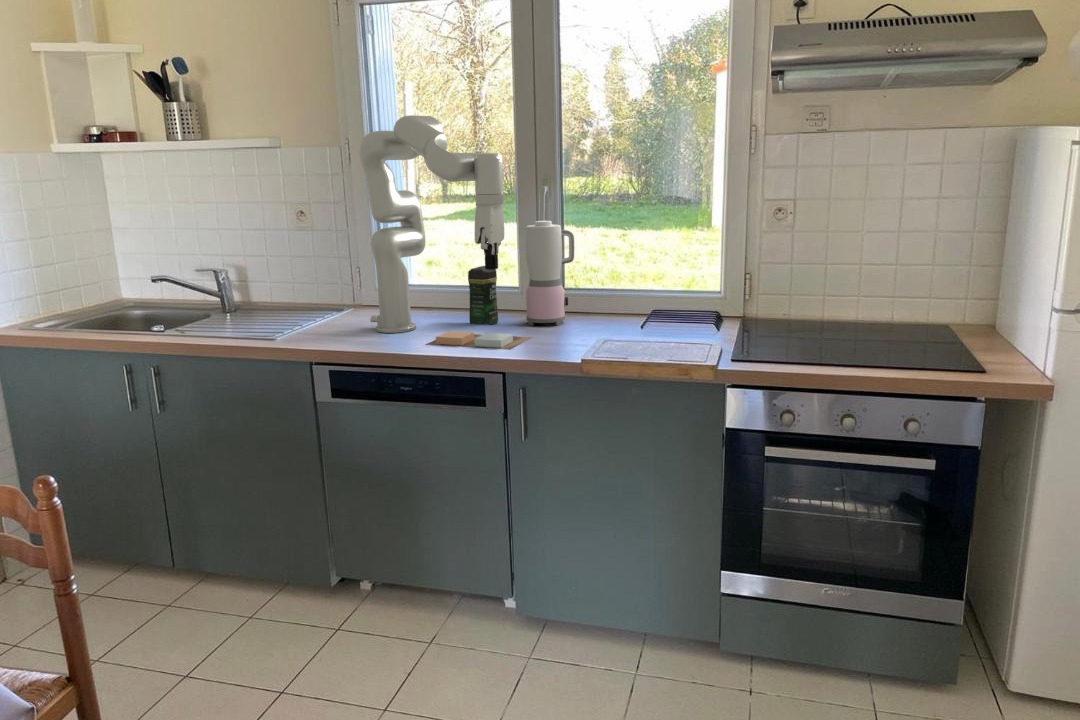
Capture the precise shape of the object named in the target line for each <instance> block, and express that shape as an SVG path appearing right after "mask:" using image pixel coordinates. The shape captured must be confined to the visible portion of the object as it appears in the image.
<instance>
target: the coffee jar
mask: <svg viewBox="0 0 1080 720" xmlns="http://www.w3.org/2000/svg"><path fill="white" fill-rule="evenodd" d="M497 279H498V277H497V269H495V270H491V269H485V265H481V266H477V267H474V268H470V269H469V270H468V272H467V282H468V287H469V324H470V325H482V326H483V325H484V326H485V325H487V326H492V325H495V324H498V322H499V311H498V309H499V308H498V299H497Z"/></svg>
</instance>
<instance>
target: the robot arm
mask: <svg viewBox="0 0 1080 720" xmlns="http://www.w3.org/2000/svg"><path fill="white" fill-rule="evenodd" d="M447 149H448V139H447V137H446V134H444V129H443V127H442V124H441V123H440V122H439V120H438V119H437V118H435V117H433V116H431V115H411V114H410V115H404V116H402V117H400V118H399V119H397V120H396V122H395V123H394V126H393V130H375V131H372V132H369V133H367V134H366V135H364V137H362V140H361V142H360V145H359V158H360V163H361V166H362V169H363V170H362V171H363V172H364V176H365V178H366V179H365V180H366V185H367V186H366V187H367V192H368V199H369V207H370V211H371V215H372V218H373V220H374V221H375V222H376V223H380V224H391V223H393V224H394V223H400V226H393V227H392V226H391V227H383V228H380V229H378V230H376V231H374V233H373V234H372V236H371V238H370V246H371V251H372V255H373V259H374V263H375V264H374V265H375V272H376V281H377V292H378V294H377V295H378V296H377V297H378V307H379V314H378V315H377V314H376V315H375V314H374V315H371V317H370V319H369V320H370V322H371V323H376V324H377V325H376V326H375V330H376V332H379V333H385V334H394V333H398V334H399V333H406V332H411V331H414V330H416V329H417V323H415V322H412V314H411V302H410V301H411V300H410V299H411V298H410V284H409V283H410V282H409V273H408V269H407V267H406V265H405V263H404V262H403V260H402V258H403V259H404V258H408V257H409V258H410V257H414V256H415V257H416V256H418V255H420V254H422V253H423V251H424V250H425V247H426V232H425V226H424V224H425V223H424V219H423V212H422V211H423V210H422V205H421V202H420V200H419V197H418V196H417V195H416V194H415V193H414V192H412V191H410V190H405V189H403V190H398V188H397V183H396V178H395V174H394V172H393V170H392V169H391V168H390V166H389V164H387V162H386V161H409V160H413V159H416V158H418V157H419V156H421V157H423V161H424V164H425V165H426V168H428V170H429V171H430V172H431V173H432V174H434V175H436V176H438V177H439V178H441V179H443V180H444V181H447V182H452V183H456V182H457V183H458V182H474V188H475V189H474V191H475V193H474V194H475V214H474V243H475V244H477V245H479V244H480V249H481V250H483V255H484V266H485V269H491V270H495V269H496V270H498V269H499V255H498V254H499V249H500V248H499V247H500V246H501V245H502V241H504V239H505V221H504V220H505V217H504V210H503V207H504V206H505V204H504V201H505V200H504V169H503V167H504V166H503V165H504V163H503V157H502V155H501V154H499V153H495V152H494V153H493V152H492V153H490V152H489V153H488V152H485V153H480V152H450V151H448V150H447Z"/></svg>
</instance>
